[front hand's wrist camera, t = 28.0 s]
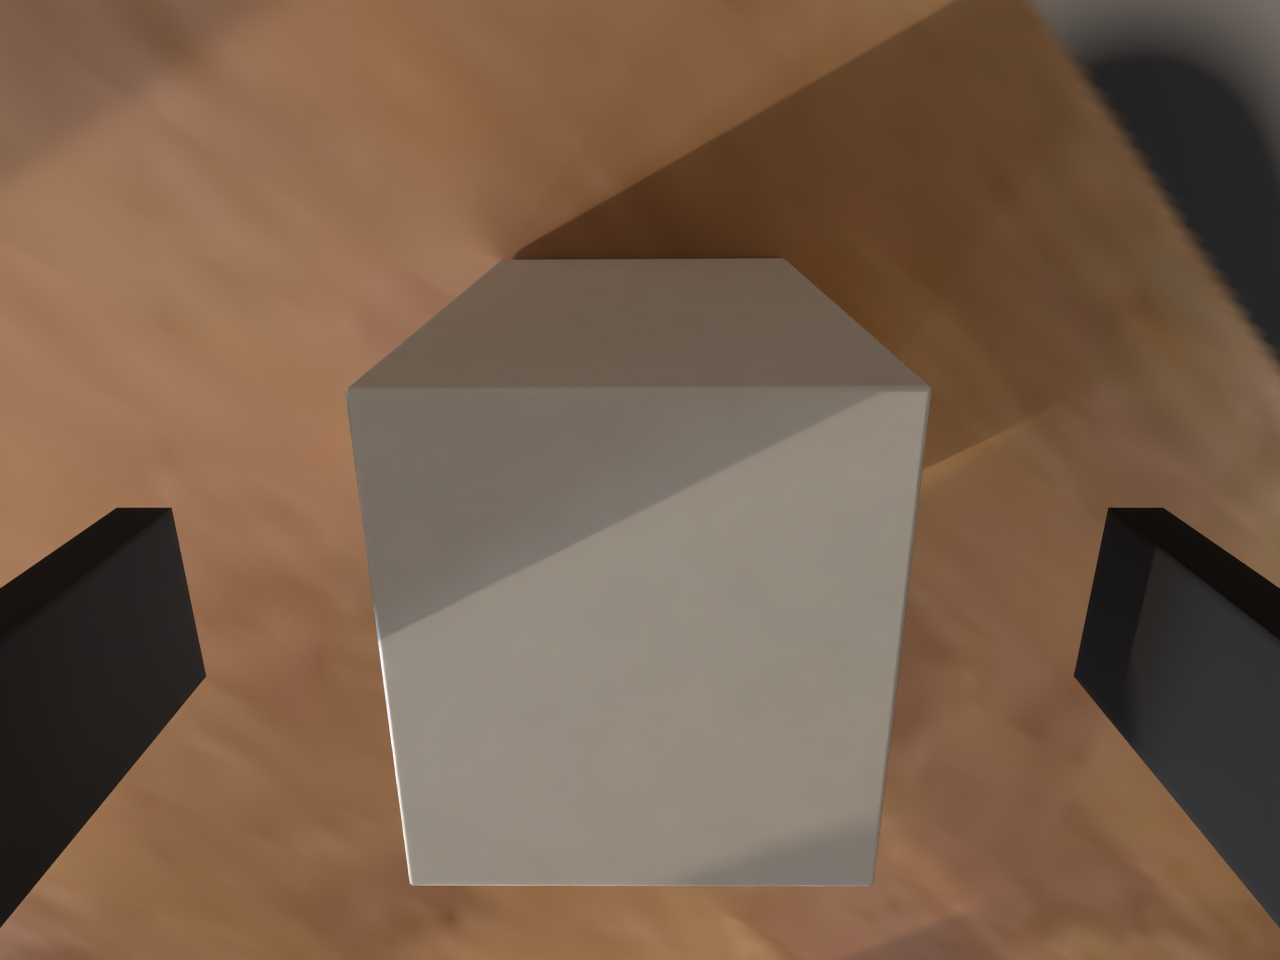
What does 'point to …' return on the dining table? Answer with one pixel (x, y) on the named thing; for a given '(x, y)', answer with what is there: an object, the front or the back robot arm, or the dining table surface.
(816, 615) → the block
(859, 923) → the dining table surface
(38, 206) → the dining table surface
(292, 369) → the dining table surface
